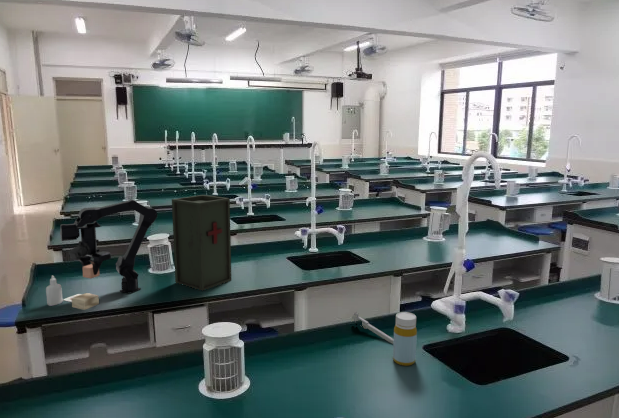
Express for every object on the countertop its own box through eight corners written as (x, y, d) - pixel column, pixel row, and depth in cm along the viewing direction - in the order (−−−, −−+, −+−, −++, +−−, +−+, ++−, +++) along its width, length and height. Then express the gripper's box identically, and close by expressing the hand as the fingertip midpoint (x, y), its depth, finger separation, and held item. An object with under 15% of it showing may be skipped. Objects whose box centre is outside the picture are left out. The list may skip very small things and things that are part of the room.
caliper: (351, 327, 169) (351, 311, 168) (353, 326, 170) (353, 310, 169) (396, 346, 154) (397, 328, 153) (398, 345, 155) (399, 327, 154)
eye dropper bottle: (47, 303, 190) (44, 275, 188) (62, 300, 192) (60, 273, 190) (47, 306, 186) (44, 278, 184) (63, 304, 189) (60, 276, 187)
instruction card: (78, 294, 200) (78, 293, 200) (88, 296, 198) (88, 295, 198) (62, 300, 193) (62, 299, 193) (72, 302, 191) (72, 301, 191)
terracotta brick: (92, 274, 198) (91, 264, 197) (99, 275, 196) (98, 265, 195) (83, 277, 194) (82, 266, 193) (90, 278, 192) (89, 268, 191)
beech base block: (87, 301, 192) (86, 292, 191) (99, 304, 189) (98, 295, 189) (72, 307, 186) (71, 298, 185) (84, 310, 183) (83, 301, 182)
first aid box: (205, 273, 230) (202, 194, 224) (231, 280, 220) (229, 198, 213) (175, 283, 216) (171, 199, 209) (202, 291, 205) (199, 203, 198)
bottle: (401, 368, 139) (403, 322, 137) (388, 358, 146) (390, 313, 143) (419, 363, 142) (422, 318, 140) (406, 354, 148) (408, 310, 146)
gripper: (56, 239, 189) (59, 276, 191) (88, 244, 181) (90, 282, 184) (79, 234, 199) (82, 269, 201) (110, 239, 191) (113, 274, 194)
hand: (91, 273), depth 195 cm, fingers closed on terracotta brick, 4 cm apart
